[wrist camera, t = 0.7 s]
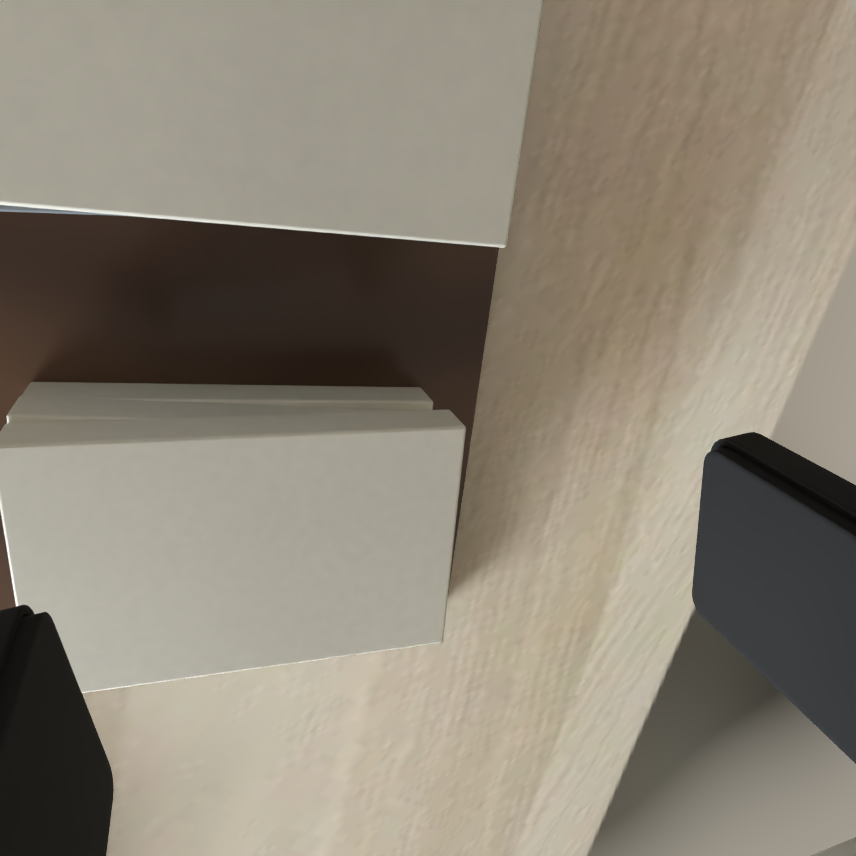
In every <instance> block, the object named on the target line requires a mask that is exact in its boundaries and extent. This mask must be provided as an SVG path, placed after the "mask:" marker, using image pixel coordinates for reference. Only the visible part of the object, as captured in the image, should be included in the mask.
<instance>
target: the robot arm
mask: <svg viewBox="0 0 856 856" xmlns="http://www.w3.org/2000/svg"><path fill="white" fill-rule="evenodd" d="M692 597H693V602H694V604H695V607H696V609H697V610H698V612H699V614H700V615H701V616H702V617H703V618H704V619H705V620H706V621H707V622H708V623H709V624H710V625H711V626H712V627H713V628H714V629H715V630H716V631H718V632H719V633H720V634H721V635H722V636H723V637H724V638H725V639H726V640H727V641H728V642H729V643H730V644H731V645H732V646H733V647H735V649H736V650H737V651H738V652H739V653H741V654H742V655H743V656H744V657H745V658H746V659H747V660H748V661H749V662H750V663H751V664H752V665H753V666H754V667H755V668H756V669H757V670H758V671H759V672H760V673H761V674H763V675H764V676H765V677H766V678H767V679H768V680H769V681H770V682H771V683H772V684H773V685H774V686H775V687H776V688H777V689H778V690H779V691H780V692H781V693H783V695H784V696H786V697H787V698H788V699H789V700H790V701H791V702H792V703H793V704H794V705H795V706H796V707H797V708H798V709H799V710H800V711H801V712H802V713H803V714H804V715H805V716H806V717H807V718H809V719H810V720H811V721H812V722H813V723H814V724H815V725H816V726H817V727H818V728H819V729H820V730H821V731H822V732H823V733H824V734H825V735H826V736H828V738H829V739H831V740H832V741H833V742H834V743H835V744H836V745H837V746H838V747H839V748H840V749H841V750H842V751H843V752H844V753H845V754H846V755H847V756H848V757H849V758H850V759H852V761H854V762H855V763H856V485H854V484H852V483H850V482H849V481H847V480H845V479H843V478H841V477H839V476H837V475H835V474H833V473H832V472H830V471H828V470H826V469H824V468H822V467H820V466H819V465H817V464H815V463H813V462H811V461H809V460H807V459H806V458H803V457H802V456H800V455H798V454H796V453H794V452H792V451H791V450H789V449H787V448H785V447H783V446H781V445H779V444H778V443H776V442H774V441H772V440H770V439H768V438H766V437H764V436H763V435H761V434H758V433H755V432H752V433H746V434H741V435H737V436H733V437H729V438H724V439H720V440H718V441H717V442H715V443H714V445H713V447H712V449H711V452H709V453H708V454H707V455H706V457H705V460H704V467H703V478H702V489H701V500H700V511H699V522H698V533H697V544H696V555H695V566H694V577H693V588H692ZM112 802H113V777H112V772H111V767H110V764H109V761H108V759H107V756H106V754H105V751H104V749H103V746H102V744H101V741H100V738H99V736H98V733H97V731H96V728H95V726H94V723H93V721H92V718H91V716H90V713H89V710H88V708H87V705H86V703H85V700H84V698H83V695H82V693H81V690H80V688H79V685H78V683H77V680H76V677H75V675H74V672H73V670H72V667H71V665H70V662H69V660H68V657H67V655H66V652H65V649H64V647H63V644H62V642H61V639H60V637H59V634H58V632H57V629H56V627H55V624H54V621H53V619H52V617H51V616H50V615H49V613H47V612H42V613H38V614H34V612H33V610H32V609H31V608H30V607H29V606H27V605H25V604H24V605H20V606H16V607H12V608H8V609H3V610H0V856H106V851H107V843H108V835H109V827H110V818H111V810H112ZM812 856H856V837H855V838H853V839H850V840H848V841H846V842H843V843H841V844H838V845H836V846H834V847H831V848H829V849H826V850H824V851H821V852H819V853H816V854H814V855H812Z"/></svg>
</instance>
